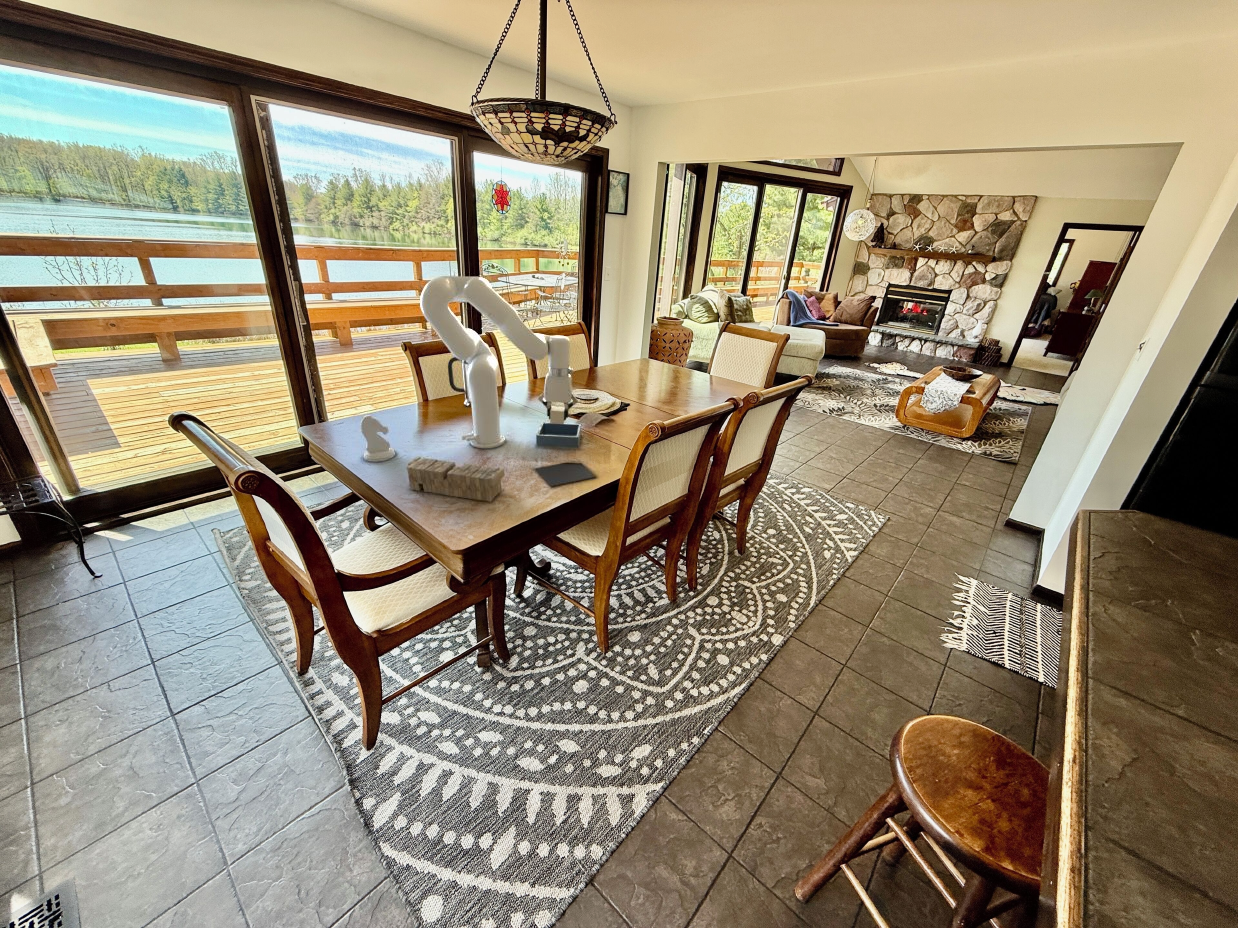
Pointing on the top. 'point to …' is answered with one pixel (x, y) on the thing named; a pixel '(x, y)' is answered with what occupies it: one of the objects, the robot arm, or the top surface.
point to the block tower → (455, 478)
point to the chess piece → (375, 440)
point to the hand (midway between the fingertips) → (557, 418)
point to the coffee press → (465, 376)
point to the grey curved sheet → (591, 418)
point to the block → (557, 415)
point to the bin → (558, 435)
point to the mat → (565, 473)
